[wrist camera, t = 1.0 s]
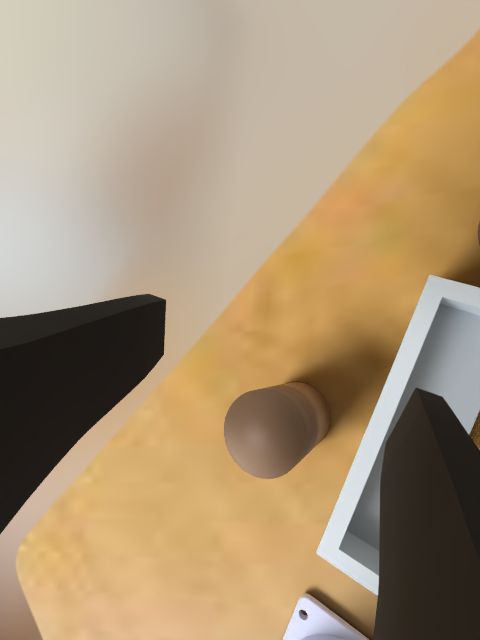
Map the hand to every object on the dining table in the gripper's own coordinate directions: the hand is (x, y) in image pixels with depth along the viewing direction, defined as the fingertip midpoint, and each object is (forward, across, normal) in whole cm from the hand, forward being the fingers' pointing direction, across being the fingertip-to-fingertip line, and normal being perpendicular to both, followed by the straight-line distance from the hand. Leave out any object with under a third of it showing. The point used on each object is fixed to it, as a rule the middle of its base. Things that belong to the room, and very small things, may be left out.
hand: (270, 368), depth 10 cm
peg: (+9, -1, +9) cm, 13 cm away
